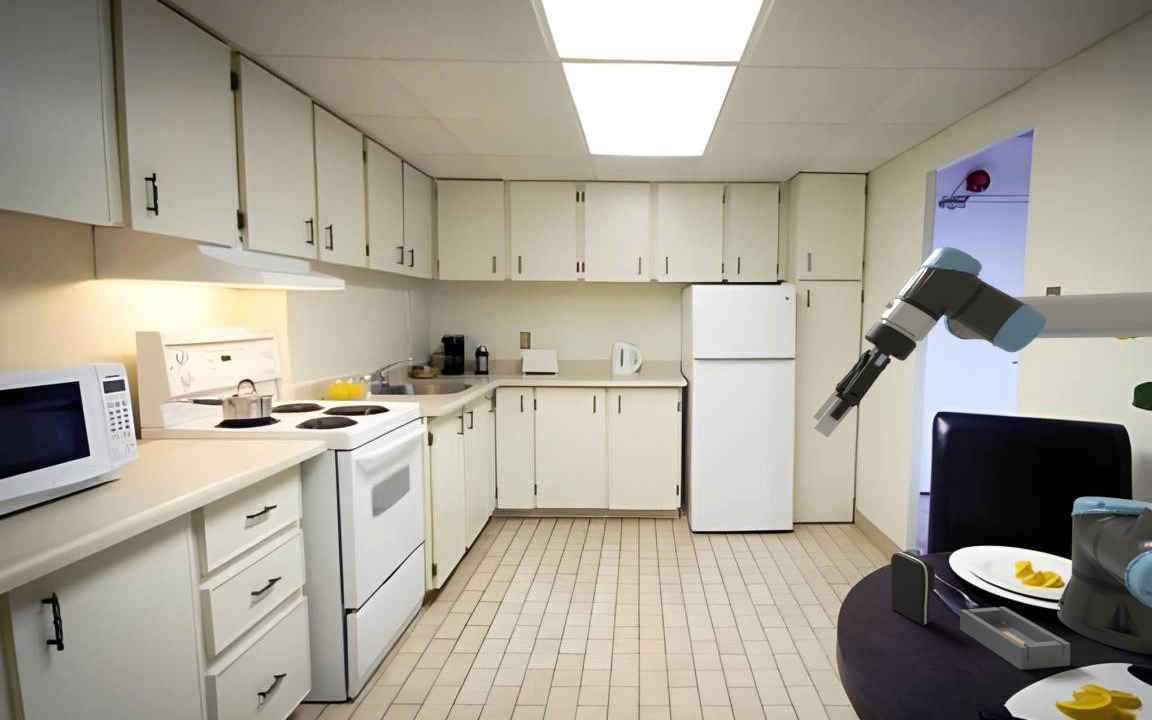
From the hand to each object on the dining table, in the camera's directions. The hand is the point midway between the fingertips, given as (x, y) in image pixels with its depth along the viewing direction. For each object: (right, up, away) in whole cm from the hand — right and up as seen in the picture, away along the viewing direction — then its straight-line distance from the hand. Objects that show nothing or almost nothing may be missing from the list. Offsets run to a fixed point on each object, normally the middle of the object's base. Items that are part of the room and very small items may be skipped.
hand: (819, 426), depth 97 cm
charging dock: (+28, -36, -9) cm, 46 cm away
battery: (+18, -36, +1) cm, 40 cm away
